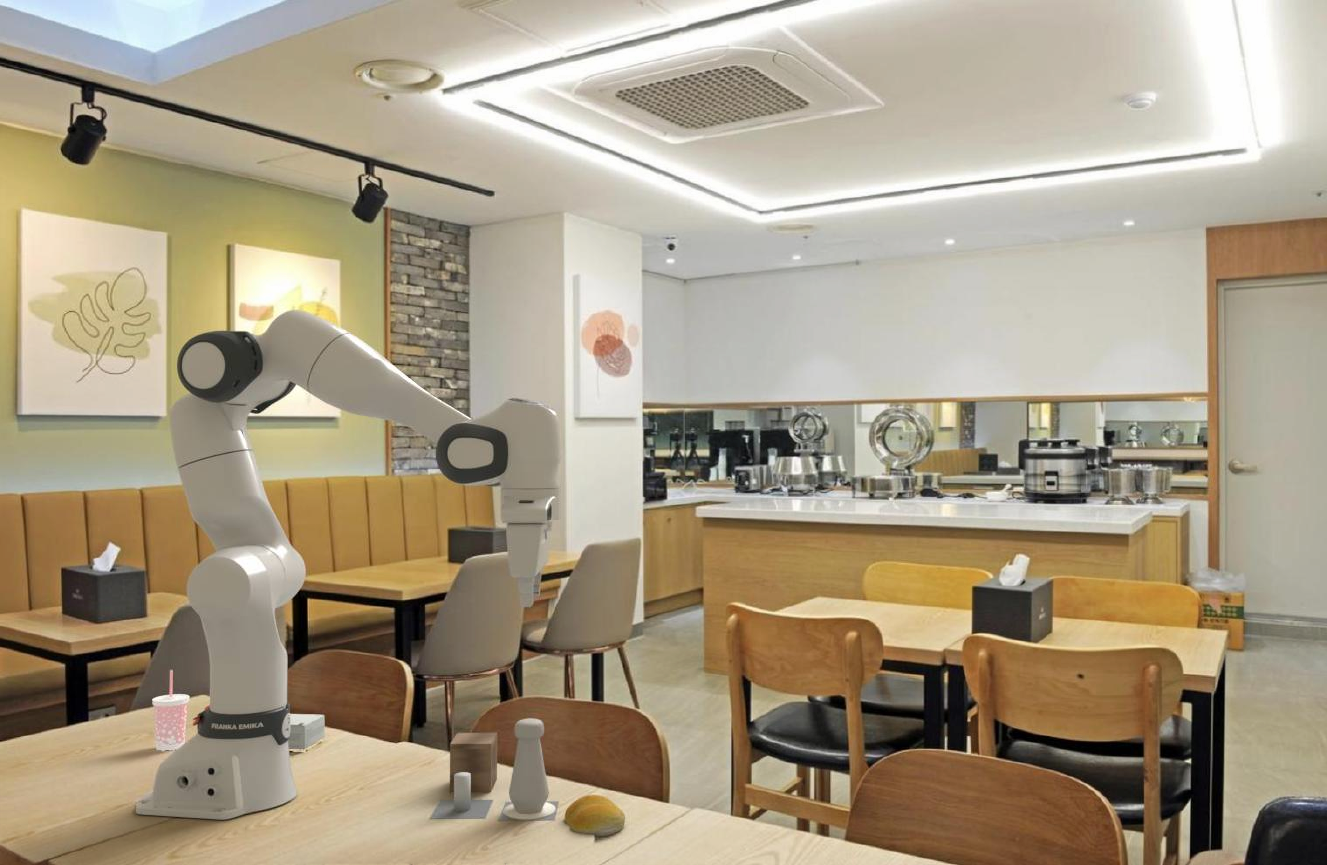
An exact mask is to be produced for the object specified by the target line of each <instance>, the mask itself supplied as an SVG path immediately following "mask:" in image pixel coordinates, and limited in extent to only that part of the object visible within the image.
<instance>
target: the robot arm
mask: <svg viewBox="0 0 1327 865" xmlns="http://www.w3.org/2000/svg"><path fill="white" fill-rule="evenodd" d="M176 369H177V376H178V378H179V381H180V382H181V384H182V386H183V387H184V388H185V389H186V391H188V392H189V393H187V394H184V395H182V396H181V397H180V398H178V399H177V400H175V402H174V403H173V405H172V406H171V409H170V412H169V423H170V424H169V426H170V436H171V442H172V448H173V453H174V454H173V455H174V458H175V462H176V466H177V470H178V475H179V477H180V482H181V484H182V488H183V491H184V495H185V499H186V502H187V503H186V504H187V506H188V509H189V514H190V516H191V518H192V519H193V521H194V522H195V523H196V525H198V526H199V527H200V528H201V529H202V530H203V532H204V533H205V534H206V536H207V537H208V539H209V541H210V542H211V544H212V546H213V548H214V549H215V552H214V553H212V554H210V555H209V556H207V557H205V559H203V560H202V561H200V562H199V563H198V564H197V565H195V567H194V568H193V570H192V571H191V572H190V574H189V576H188V579H187V583H186V595H187V599H188V600H187V601H188V602H189V604H190V606H191V608H192V610H193V611H195V613H196V614H197V615H198V616H199V618H200V621H201V624H202V628H203V633H204V637H205V640H206V646H207V650H208V657H209V658H208V659H209V705H207V706H206V707H205V708H204V710H203V711H201V712H199V713H198V714H197V716H195V717H194V718H192V721H193V723H192V726H193V727H195V726H197V728H196V729H197V733H196V734H195V735H193V736H192V737H191V738H190V739H188V740H187V741H186V742H185V743H184V744H183V745H182V746H181V747H180V748H178V749H177V750H174V751H173V752H172V753H171V754H169V755H168V756H167V757H166V758H165V759H163V761H162V762H161V763H160V764H159V766H158V768H157V771H156V774H155V777H154V781H153V788H152V789H151V790H149V791H148V792H146V793H145V794H144V795H143V796H141V797H140V798H139V800H138V801H137V802H136V806H135V813H136V814H137V815H144V816H162V817H174V818H175V817H177V818H189V819H204V820H205V819H206V820H207V819H208V820H220V821H222V820H230V819H234V818H236V817H240V816H242V815H245V814H250V813H254V812H259V811H263V810H268V809H271V808H274V807H278V806H280V805H283V804H286V803H288V802H289V801H292V800H293V799H294V798H295V797H296V796H297V794H298V790H297V786H296V783H295V779H294V774H293V771H292V770H293V769H292V765H291V764H292V763H291V758H290V757H291V756H290V752H289V747H288V739H289V736H290V728H291V715H290V714H291V707H290V706H291V703H290V701H288V652H287V649H286V648H285V647H284V645H283V643H282V641H281V639H280V635H279V631H278V630H279V629H278V627H277V621H276V609H277V608H280V607H282V606H284V605H286V604H287V603H289V602H290V601H291V600H292V599H293V598H294V597H295V596H296V595H297V594H298V592H299V591H300V590H301V588H302V587H303V585H304V583H305V580H306V574H307V570H306V564H305V560H304V559H303V557H302V555H301V554H300V553H299V552H298V551H297V549H295V548H294V547H293V546H292V545H291V542H290V541H289V539H288V537H287V535H286V533H285V530H284V529H283V527H282V525H281V523H280V521H279V520H278V517H277V516H276V514H275V512H274V509H273V508H272V506H271V505H272V504H270V502H269V499H268V496H267V494H266V490H265V488H264V483H263V481H262V477H261V476H262V475H261V473H260V471H259V467H258V463H257V461H256V457H255V453H254V449H253V446H252V442H251V440H250V436H249V433H248V428H247V421H248V417H249V415H250V414H256V415H257V414H261V413H263V412H264V411H265V410H267V409H268V408H270V406H272V405H274V404H275V403H278V402H279V401H280V400H282V399H284V398H285V397H286V396H288V395H290V393H291V392H292V391H293V390H294V389H295V387H296V386H298V387H300V388H302V389H303V391H306V392H308V393H309V394H311V395H312V396H313V397H315V398H316V399H318V400H320V401H322V402H324V403H325V404H327V405H329V406H332V407H334V408H336V409H338V410H341V411H344V412H346V413H349V414H352V415H358V416H362V417H363V416H364V417H369V418H374V419H375V418H376V419H380V420H386V421H389V422H394V423H397V424H401V425H403V426H404V427H405V426H406V427H408V428H410V429H411V430H413V431H415V432H416V433H419V434H420V435H421V436H424V437H425V438H426V439H429V440H430V441H431V442H433V443H436V447H435V461H436V464H437V467H438V469H439V471H440V472H441V473H442V475H443V476H444V477H445V478H446V479H448V480H449V481H450V482H452V483H456V484H458V485H461V486H466V487H467V486H470V487H471V486H475V487H478V486H479V487H480V486H484V487H485V486H487V487H495V488H496V487H497V488H498V487H500V520H501V522H502V524H506V528H505V532H506V536H505V537H506V547H507V548H506V550H507V559H508V569H509V573H510V576H511V577H512V578H517V584H518V585H517V586H518V592H519V605H520V607H522V608H531V607H532V606H533V605H534V600H535V599H537V598H539V597H540V595H541V582H542V581H541V580H542V573H543V572H542V571H543V570H542V569H543V568H544V567H545V566H546V565H547V564H548V562H549V532H552V530H553V526H552V525H553V521H558V520H560V519H561V482H560V479H559V473H558V472H559V465H560V463H561V462H560V461H561V434H560V425H559V417H558V415H557V413H556V411H555V409H554V408H553V407H552V406H550V405H549V404H547V403H544V402H541V401H535V400H530V399H524V398H519V397H517V398H516V397H513V398H508V399H506V400H505V401H504V402H503V403H501V404H500V405H499V406H498V407H496V408H494V409H492V410H490V411H489V412H485V413H484V414H482V415H479V416H477V417H474V418H473V417H471V416H469V415H467V414H465V413H463V412H462V411H460V410H459V409H457V408H455V407H453V406H452V405H450V404H449V403H447V402H445V401H444V400H442V399H440V398H438V397H437V396H435V395H433V394H432V393H430V392H429V391H427V390H425V389H424V388H422V387H421V386H420V385H418V384H417V383H416V382H414V381H413V379H411V378H409V377H408V376H407V375H406V374H404V372H402V371H401V370H400V369H399V368H397V367H396V366H395V365H394V364H392V363H391V362H390V361H389V360H388V359H386V357H385V356H383V355H382V354H381V353H379V352H378V351H377V350H376V349H374V348H373V347H372V346H370V345H369V344H368V343H367V342H365V341H364V340H362V339H360V337H358V336H356V335H354V334H353V333H352V332H350V331H348V330H346V329H344V328H343V327H341V326H339V325H338V324H335V322H334V323H333V322H331V321H329V320H327V319H325V318H323V317H320V316H317V315H315V314H313V313H310V312H308V311H305V310H303V309H302V310H300V309H291V310H287V311H285V312H283V313H281V314H280V315H278V316H277V317H276V318H274V320H273V321H272V322H271V323H270V324H269V326H268V327H267V329H266V330H265V331H264V332H263V333H262V334H254V333H251V332H249V331H245V330H212V331H207V332H202V333H200V334H198V335H194V337H191V339H188V341H187V342H186V343H184V345H183V346H182V347H181V349H180V352H179V354H178V356H177V361H176Z"/></svg>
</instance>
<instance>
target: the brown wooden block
mask: <svg viewBox="0 0 1327 865" xmlns="http://www.w3.org/2000/svg"><path fill="white" fill-rule="evenodd" d="M460 772H468V773H470V774H471V793H492V791H493V789H494V787H495V784H496V782H497V780H498V732H457V733H456V734H455V736H454V737H453V739H452V741H451V742H450V744H449V793H454V774H456V773H460Z"/></svg>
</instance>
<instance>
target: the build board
mask: <svg viewBox="0 0 1327 865" xmlns="http://www.w3.org/2000/svg"><path fill="white" fill-rule="evenodd" d="M559 803H560V802H559V801H558V800H557V801H556V800H555V801H553V800H552V801H551V800H550V801H549V800H546V802H545V804H544V806H543V808H542V811H541V812H538V813H534V814H520V813H518V812H517V811H516V810H515V809H514V806H513V804H512V801H505V803H504V806H503V807H502V809H501V813H500V815H499V818H498V822H500V821H502V822H505V821H506V822H507V821H509V822H510V821H511V822H512V821H513V822H515V821H516V822H517V821H520V822H521V821H525V822H526V821H555V820H556V815H557V811H558V808H559V807H558V806H559Z"/></svg>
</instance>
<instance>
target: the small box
mask: <svg viewBox="0 0 1327 865" xmlns="http://www.w3.org/2000/svg"><path fill="white" fill-rule="evenodd" d="M290 715H291V728H290V736H289V739H288V747H289V749H300V750H301V749H303V750H304V749H306V748H308V747H309V746H312V745H313V744H315V743H316V742H317V741H319V740H320V739H323V738H324V739H325V727H326V726H325V725H326V724H325V718H326V717H325V715H324V714H309V713H308V714H306V713H305V714H304V713H303V714H302V713H290Z"/></svg>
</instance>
